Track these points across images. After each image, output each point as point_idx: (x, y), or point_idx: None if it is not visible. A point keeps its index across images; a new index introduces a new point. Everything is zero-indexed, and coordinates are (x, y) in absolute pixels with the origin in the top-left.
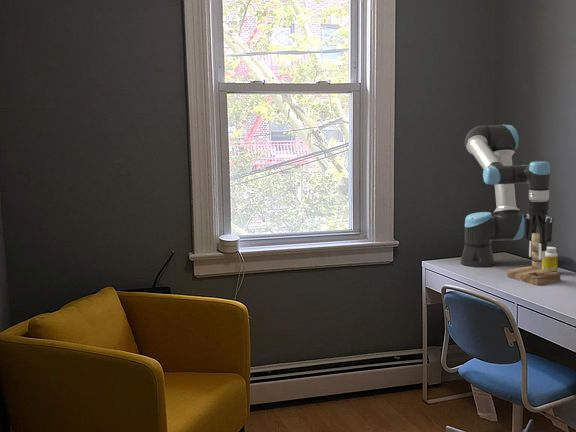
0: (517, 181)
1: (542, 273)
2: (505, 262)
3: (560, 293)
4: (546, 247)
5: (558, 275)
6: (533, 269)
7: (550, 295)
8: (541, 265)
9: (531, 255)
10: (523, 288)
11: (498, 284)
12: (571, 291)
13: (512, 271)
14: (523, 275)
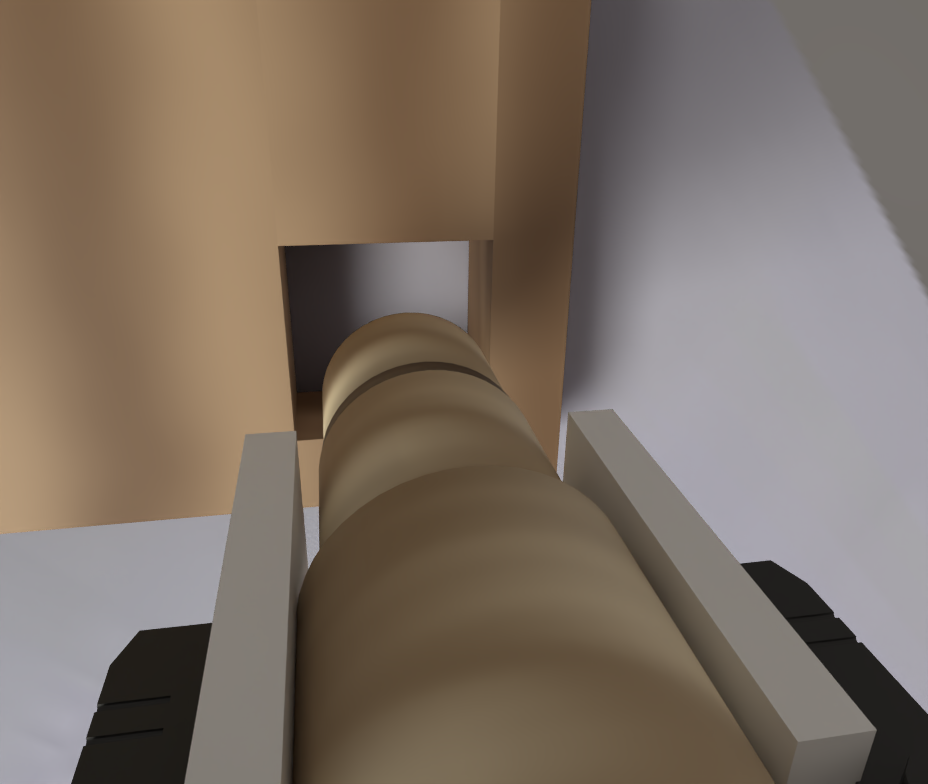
0: None
1: (406, 225)
2: None
3: (873, 439)
4: (853, 644)
5: (582, 13)
6: (77, 130)
7: (841, 560)
8: (486, 362)
9: (304, 566)
10: None
11: None
12: (920, 284)
13: (60, 528)
14: (302, 499)
